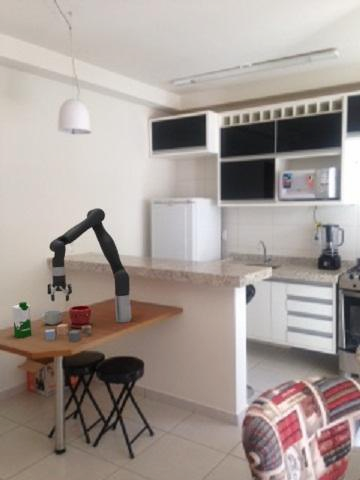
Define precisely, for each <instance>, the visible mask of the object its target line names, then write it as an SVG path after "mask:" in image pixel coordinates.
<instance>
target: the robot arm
mask: <svg viewBox="0 0 360 480" xmlns="http://www.w3.org/2000/svg"><path fill="white" fill-rule="evenodd" d="M105 218H106V212H105V211H104V210H103V209H102V208H98V207H97V208H93V209H90V210H88V212H87V213H86V218H85V219H84V220H82V221H80V222H79V223H78V224H76V225H74V226H73V227H71V228H70V229H68V230H67V231H66V232H64V234H61V235H60V236H58V237H56V238H55V239H53V240H52V241H51V242H50V243H49V250H50V251H51V252H53V254H54V256H53V257H52V259H51V266H52V268H51V274H52V283H48V284H47V295H50V301H52V302H55V293H56V292H62V293H64V294H65V302H69V300H70V294H71V295H72V294H73V287H72V283H67V279H66V278H67V276H66V264H65V258H66V252H67V251H66V250H67V249H66V248H67V247H66V246H67V245H70V244H72V243H73V242H75V241H76V240H77V239H78V238H80V237H81V236H83V234H85V233H86V232H87V231H88V230H90V229H92V231H93V233H94V234H95V235H94V236H95V237H96V240H97V242H98V244H99V247H100V249H101V251H102V254H103V255H104V258H105V259H106V261H107V262H108V264H109V266H110V269H111V272H112V275H113V278H114V279H113V280H114V297H115V298H114V301H115V303H114V305H115V319H116V320H115V321H116V323H122V324H123V323H130V322H131V321H132V305H131V299H130V298H131V296H130V291H131V288H130V275H129V273H128V272H127V271H126V269H125V267H124V265H123V263H122V261H121V258H120V254H119V249H118V248H117V245H116V243H115V240H114V239H113V237H112V236H111V235H110V234H109V233H108V231H107V229H106V228H105V226H104V225H103V221H104V220H105ZM52 288H53V289H52Z"/></svg>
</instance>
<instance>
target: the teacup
mask: <svg viewBox="0 0 360 480" xmlns="http://www.w3.org/2000/svg"><path fill="white" fill-rule="evenodd" d="M62 313H63V311H62V310H60V309H48V310H45V311H44V313H43V314H41V316H40V319H41V321H43V322H45V323H46V324H48V325H50V326H54V325H59V324H60V323H61V321H62Z"/></svg>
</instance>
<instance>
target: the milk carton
mask: <svg viewBox="0 0 360 480" xmlns="http://www.w3.org/2000/svg"><path fill="white" fill-rule="evenodd" d="M11 309H12V314H13V315H12V317H13V328H14V329H13V330H14V333H13V334H14V335H13V336H14V337H16V336H17V337H16V338H20V339H23V338H26V337H30V336H32V335H33V334H32V322H31V305H30V304H27V302H26V301H23V302H22V301H21V302H19V303H18V304H17V305H13V306H11Z"/></svg>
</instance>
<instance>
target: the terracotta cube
mask: <svg viewBox="0 0 360 480" xmlns="http://www.w3.org/2000/svg"><path fill="white" fill-rule="evenodd" d="M56 332H57V334H56V335H57V336H59V335H60V336H63V335H64V336H66V335H68V333H69V324H68V323H58V324H57V326H56Z"/></svg>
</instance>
